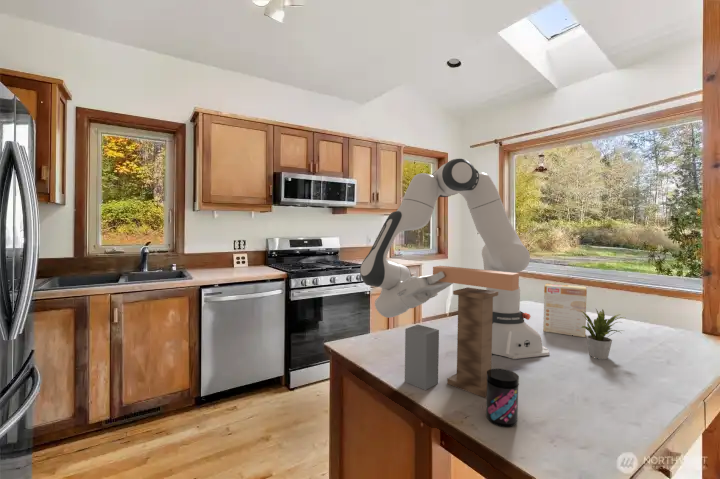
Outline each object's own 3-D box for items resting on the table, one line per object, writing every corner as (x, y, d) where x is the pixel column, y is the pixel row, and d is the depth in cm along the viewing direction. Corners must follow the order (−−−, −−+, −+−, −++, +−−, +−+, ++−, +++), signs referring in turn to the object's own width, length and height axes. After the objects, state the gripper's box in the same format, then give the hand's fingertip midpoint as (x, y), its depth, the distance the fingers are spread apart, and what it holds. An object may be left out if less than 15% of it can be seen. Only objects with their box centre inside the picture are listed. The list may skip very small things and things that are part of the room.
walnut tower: (447, 383, 98) (448, 290, 97) (463, 374, 104) (465, 286, 103) (485, 397, 90) (487, 296, 89) (500, 386, 96) (502, 292, 95)
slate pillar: (404, 381, 99) (405, 328, 98) (417, 375, 103) (418, 324, 102) (425, 390, 94) (426, 334, 93) (438, 383, 98) (438, 329, 97)
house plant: (637, 368, 110) (640, 316, 109) (588, 364, 112) (590, 313, 112) (614, 352, 124) (616, 306, 123) (571, 349, 126) (572, 303, 126)
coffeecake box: (585, 333, 145) (586, 286, 144) (585, 337, 139) (587, 288, 138) (544, 327, 153) (545, 282, 153) (542, 331, 147) (544, 285, 146)
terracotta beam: (432, 280, 103) (432, 266, 103) (440, 278, 106) (440, 265, 106) (512, 290, 87) (512, 274, 87) (518, 288, 90) (518, 273, 90)
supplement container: (479, 418, 80) (480, 373, 80) (494, 408, 84) (495, 366, 84) (509, 432, 75) (510, 384, 74) (523, 420, 79) (524, 375, 79)
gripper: (389, 285, 104) (423, 265, 95) (429, 278, 118) (462, 260, 110) (398, 305, 102) (433, 287, 93) (437, 295, 116) (471, 279, 108)
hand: (449, 272), depth 101 cm, fingers closed on terracotta beam, 4 cm apart
